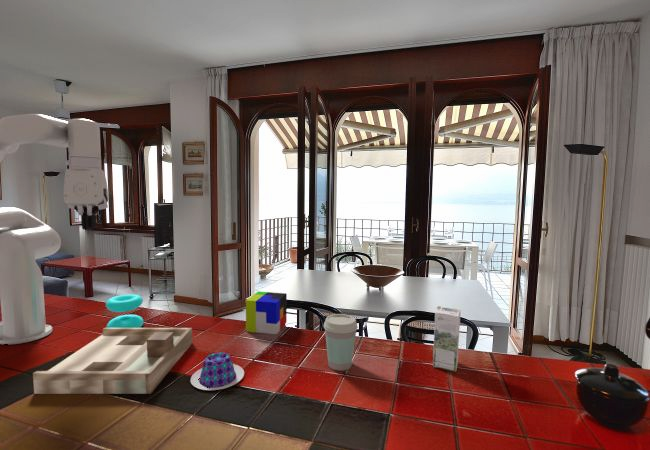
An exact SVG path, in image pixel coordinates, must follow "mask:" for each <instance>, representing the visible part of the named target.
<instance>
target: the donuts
mask: <svg viewBox="0 0 650 450" xmlns="http://www.w3.org/2000/svg"><path fill="white" fill-rule="evenodd" d="M143 301H144V300H143V298H142V295H141V296H140V295H139V294H131V293H130V294H129V293H128V294H119V295H116V296H113V297H111V298H109V299H108V300H106V302H105V307H106V309H107V310H109V311H111V312H115V313H124V312H130V311H132V310H136V309H137V308H140V306H141V305H142V304H143ZM143 324H144V319H143V317H142V316H140V315H137V314H124V315H123V314H122V315H118V316H116V317H114V318H112V319H111V320H109V321H108V323H107V324H106V328H142V326H143Z"/></svg>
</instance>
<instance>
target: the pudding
mask: <svg viewBox="0 0 650 450" xmlns="http://www.w3.org/2000/svg"><path fill="white" fill-rule="evenodd" d="M206 356H207V355H206ZM244 377H245V371H244V369H243V368H242V367H241V366H240V365H238V364H235V363H233V360H232V357H231V355H230V354H228V353H226V352H214V353H212V354H208V356H207V357H206V358H204V361H203V364H202V366H201V368H200V369H198V370H196V371H195V372H194V373H192V376H191V377H190V384H191V385H192V386H193V387H194V388H197V389H199V390H202V391H216V390H217V391H218V390H224V389H227V388H230V387H232V386H234V385H236V384H238V383H239V382H240V381H241V380H242V379H243V378H244ZM199 378H200V379H199ZM198 379H199V380H198ZM207 387H208V388H207ZM209 387H210V388H209Z"/></svg>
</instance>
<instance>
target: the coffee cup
mask: <svg viewBox="0 0 650 450" xmlns="http://www.w3.org/2000/svg"><path fill="white" fill-rule="evenodd" d="M358 328H359V327H358V323H357V319H356V318H355V317H354V316H352V315H350V314H344V313H335V314H331V315H328V316H326V318H325V321H324V323H323V329H324V333H325V334H324V335H325V343H326V344H325V345H326V351H327V354H326V355H327V361H328V367H329V368H330V369H332V370H335V371H347V370H349V369H351V367H352V365H353V363H352V362H353V357H354V356H353V355H354V349H355V341H356V334H357V330H358Z"/></svg>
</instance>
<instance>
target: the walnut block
mask: <svg viewBox="0 0 650 450" xmlns="http://www.w3.org/2000/svg"><path fill="white" fill-rule="evenodd" d="M173 344H174V341H173V332H155V333H154V334H153V335H152V336H150V337H149V338H148V339H147V358H160V357H161V356H162V355H163V354H164V353H165V352H166V351H167V350H168V349H169V348H170V347H171V346H172V345H173Z"/></svg>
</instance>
